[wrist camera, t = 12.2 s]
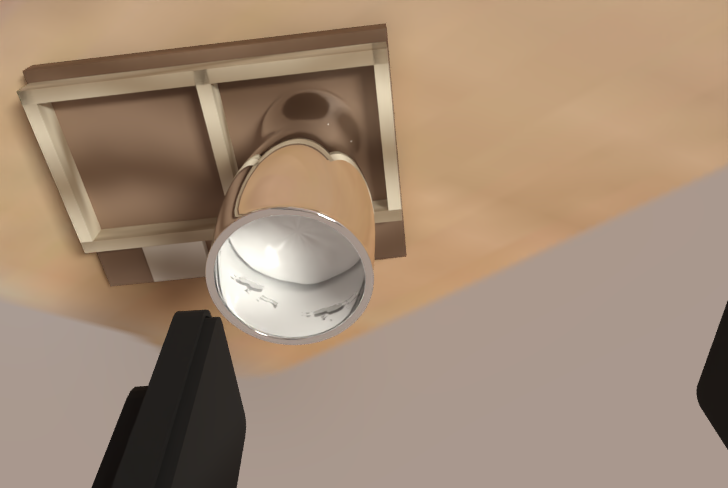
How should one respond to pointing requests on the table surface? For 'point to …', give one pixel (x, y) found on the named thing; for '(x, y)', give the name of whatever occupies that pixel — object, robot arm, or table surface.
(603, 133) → the table surface
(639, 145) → the table surface
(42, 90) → the divided sorting tray
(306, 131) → the silver piece
